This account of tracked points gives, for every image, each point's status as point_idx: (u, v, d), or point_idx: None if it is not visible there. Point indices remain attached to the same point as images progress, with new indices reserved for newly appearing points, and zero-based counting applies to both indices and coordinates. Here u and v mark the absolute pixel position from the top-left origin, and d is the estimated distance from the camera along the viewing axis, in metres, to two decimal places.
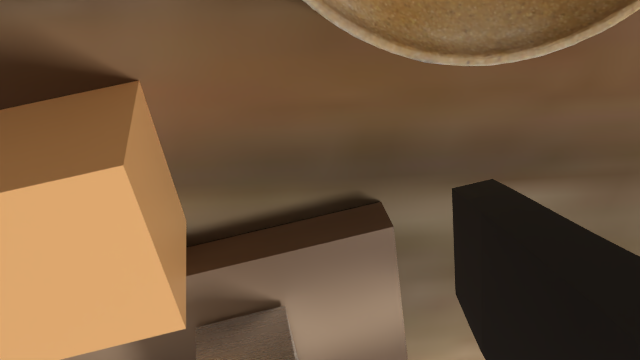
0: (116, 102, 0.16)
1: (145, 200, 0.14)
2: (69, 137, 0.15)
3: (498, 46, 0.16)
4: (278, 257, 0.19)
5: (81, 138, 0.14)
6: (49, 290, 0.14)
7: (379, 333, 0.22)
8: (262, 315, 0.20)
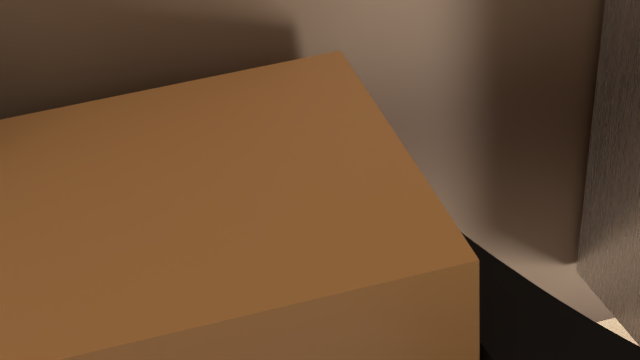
0: (324, 92, 0.08)
1: None
2: (259, 169, 0.06)
3: None
4: None
5: (293, 172, 0.06)
6: None
7: None
8: None
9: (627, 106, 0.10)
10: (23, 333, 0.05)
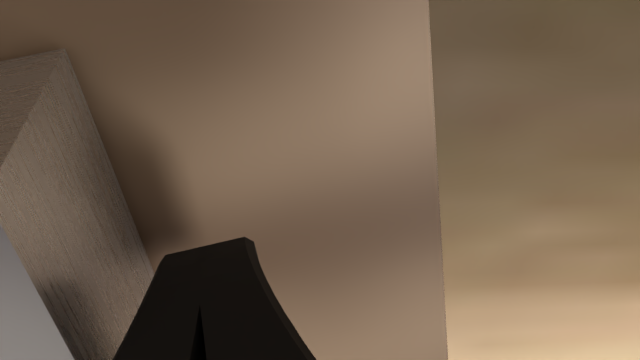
0: None
1: None
2: None
3: None
4: None
5: None
6: None
7: (381, 140, 0.10)
8: (3, 65, 0.08)
9: None
10: None
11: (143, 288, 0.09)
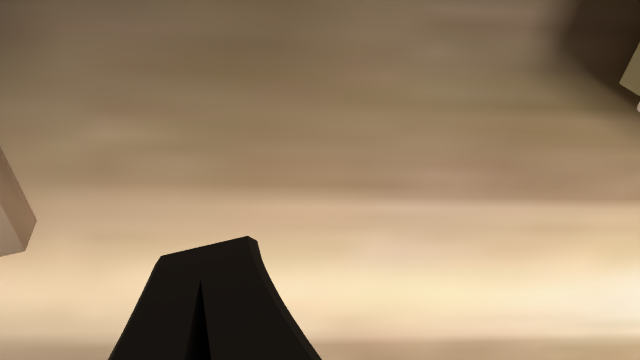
0: None
1: None
2: None
3: None
4: None
5: None
6: None
7: None
8: None
9: None
10: None
11: None
